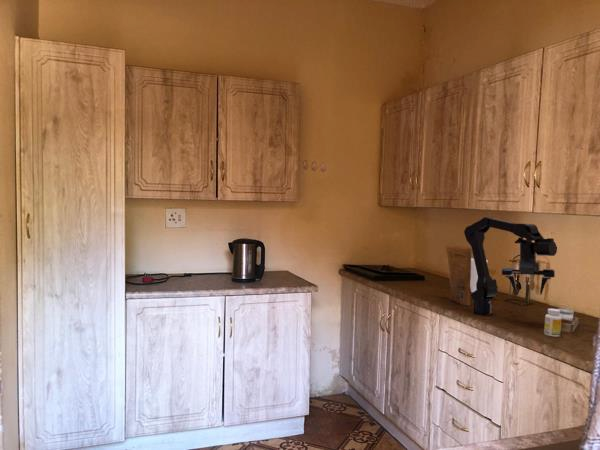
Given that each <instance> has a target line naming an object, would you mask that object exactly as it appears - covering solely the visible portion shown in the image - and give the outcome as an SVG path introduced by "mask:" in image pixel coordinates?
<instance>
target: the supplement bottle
mask: <svg viewBox="0 0 600 450" xmlns="http://www.w3.org/2000/svg"><path fill="white" fill-rule="evenodd" d="M559 314H560V310H558V308H547V313H546V314H545V316H544V329H543V334H544V335H545V336H548V337H556V338H558V337H560V336H561V332H562V331H561V319H562V318H561V316H559Z"/></svg>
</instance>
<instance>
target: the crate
mask: <svg viewBox="0 0 600 450" xmlns="http://www.w3.org/2000/svg"><path fill="white" fill-rule="evenodd" d="M578 326H579V316H578V317H576V316H573V321H572V320H566V319H561V332H564V333H571V334H573V333H574V332H575V330H577V327H578Z"/></svg>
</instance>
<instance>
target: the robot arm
mask: <svg viewBox="0 0 600 450" xmlns="http://www.w3.org/2000/svg"><path fill="white" fill-rule="evenodd" d="M491 228H494V229H497V230H502V231H505V232H510V233H511V234H513V235H515V236H517V237H518V238H517V239H516V240H515V241H514V244H519V264H518V269H515V268H514V267H506V266H505V267H503V268H502V269H501V275H502V276H505V278H508V279H509V282H510V284H511V286H512V289H513V292H514V294H516V293H517V283H516V276H515V275H530V276H541V285H540V290H539V292H540V295H542V294H543V290H544V289H545V287H546V283H547V281H548V280H551V279H552V278H555V276H556V271H555V270H554V269H553V268H543V269H542V270H540V262H538V261H537V258H536V257H537V256H543V257H544V256H547V257H554V256H556V254H557V252H558V246H557V244H556V242H555V240H554V238H552V237H551V238H548V237H547V238H544V236H543V235H542V234H541V233H540V230H539V229H538V228H539V227H538V226H537V224H534V223H516V222H510V221H508V220H502V219H498V218H494V217H492V216H491V217H489V216H485V217H482V218H481V219H480V220H478V221H476V222H474V223H472V224H470V225H468V226H466V227H465V228H464V230H463V233H464V234H463V235H464V238H465V239H466V242H467V243H468V244H469V246H470V248H471V249H472V256H473V257H472V258H473V259H474V261H475V266H476V270H477V275H478V280H477V283H476V289H477V290H476V291H475V292H471V293H470V296H471V300H473V311H471V313H472V314H475V315H476V314H477V315H481V316H482V315H483V316H489V315H491V314H492V309H493V308H492V306H493V305H492V303H491V301H493V300H494V298H495V296H496V295H497V294H498V289H499V287H498V284H497V280H496V278H494V279H493V278H492V277H491V276H490V270H489V266H488V262H487V261H486V260H487V257H486V253H485V249H484V241H485V237H486V236H485V234H486V233H487V232H488V231H489V230H490V229H491Z"/></svg>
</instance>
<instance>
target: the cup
mask: <svg viewBox="0 0 600 450" xmlns="http://www.w3.org/2000/svg"><path fill="white" fill-rule="evenodd" d="M486 261H487V263H488V262H489V261H488V259H486ZM477 280H478V275H477V270H476V266H475V261H474V258H471V279H470V292H471V293H473V292H475V291H476V290H477V289H476V283H477Z"/></svg>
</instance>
